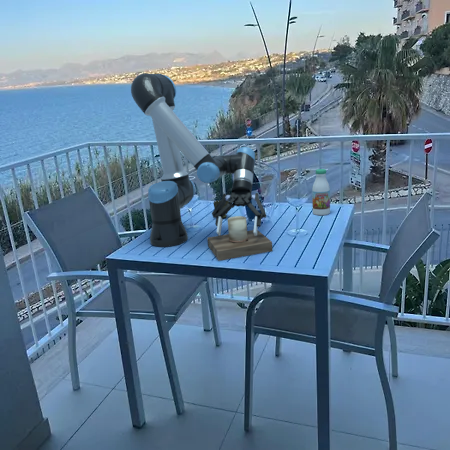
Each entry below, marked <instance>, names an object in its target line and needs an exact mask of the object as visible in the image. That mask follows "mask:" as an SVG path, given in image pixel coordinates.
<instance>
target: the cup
mask: <svg viewBox="0 0 450 450" xmlns="http://www.w3.org/2000/svg"><path fill="white" fill-rule="evenodd" d="M220 201H221V199H219V200H217V199H216V200H214V201H213V208H214V209H215V208H216V206H217V205H218V203H219V202H220ZM229 201H230V199H228V201H226V204H225V205H224V207H225V206H226V205H227V204H228V203H229ZM224 207H223V208H224ZM223 208H222V209H223ZM222 209H221V210H222ZM228 213H229V211H228V212H227V213H226V214H225V215H224V216H223V217H222V219H226V218H227V214H228Z"/></svg>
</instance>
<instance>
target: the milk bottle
mask: <svg viewBox="0 0 450 450" xmlns="http://www.w3.org/2000/svg"><path fill="white" fill-rule="evenodd" d="M330 188H331V186H330V184H329V182H328V179H327V169H326V168H325V169H324V168H318V169H315V180H314V181H313V185H312V191H311V192H312V193H311V195H312V196H311V197H312V199H311V200H312V213H313V215H315V216H327V215H329V214H330V213H331V189H330Z"/></svg>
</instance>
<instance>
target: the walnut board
mask: <svg viewBox="0 0 450 450" xmlns="http://www.w3.org/2000/svg"><path fill="white" fill-rule="evenodd" d="M253 232H254V229H251V230H247V237H248V240H247V241H245V242H241V243H233V242H230V241H229V233H226V234H221V235H215V236H208V237H207V238H206V239H207V246H208V248H209V250H210V251H211V252H212V253H213V255H214V256H215V258H216V259H217V261H219V262H220V261H225V260H226V261H227V260H231V258H232V259H236V258H241V257H242V256H243V257H247V256H253V255H258V254H264V253H268V252H273V242H272V241H271V239H269V238H268V237H267V236H265V235H264V234H263V233H262V232H261V231H259V230H258V229H257V236H255V235H254V233H253Z"/></svg>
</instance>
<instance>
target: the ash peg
mask: <svg viewBox="0 0 450 450" xmlns="http://www.w3.org/2000/svg"><path fill="white" fill-rule="evenodd" d="M247 223H248V222H247V217H246V216H243V215H242V216H241V215H238V216H236V215H235V216H231V217H228V218H227V231H228V234H229V241H230V242H233V243H241V242H245V241H247V240H248V237H247V231H248V226H247V225H248V224H247Z"/></svg>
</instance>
